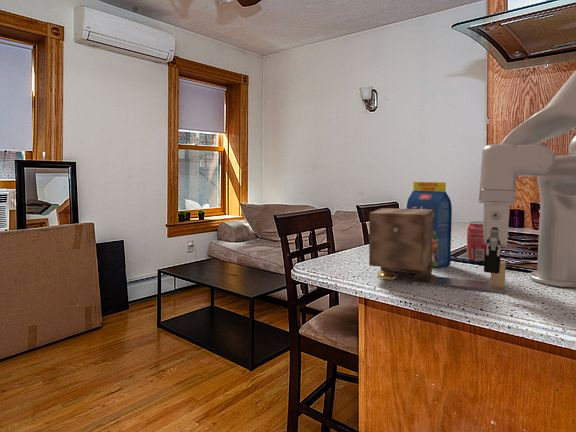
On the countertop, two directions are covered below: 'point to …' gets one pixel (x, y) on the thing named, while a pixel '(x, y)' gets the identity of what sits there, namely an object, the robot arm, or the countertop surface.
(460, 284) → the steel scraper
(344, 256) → the countertop surface
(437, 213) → the blue food package
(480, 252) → the soda can
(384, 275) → the brass token
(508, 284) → the countertop surface
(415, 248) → the walnut cabinet
